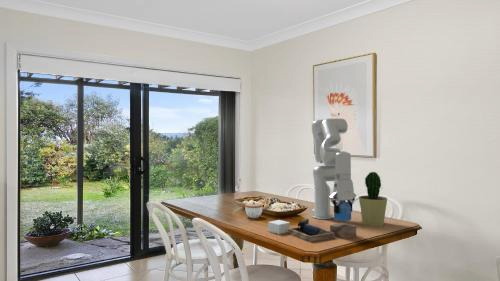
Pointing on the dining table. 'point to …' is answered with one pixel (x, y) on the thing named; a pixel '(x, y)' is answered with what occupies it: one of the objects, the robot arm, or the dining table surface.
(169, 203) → the dining table surface
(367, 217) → the potted cactus
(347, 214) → the perfume bottle
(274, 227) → the grey block
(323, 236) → the wooden tray
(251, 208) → the filled white bowl
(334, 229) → the walnut block
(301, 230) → the navy pump bottle
